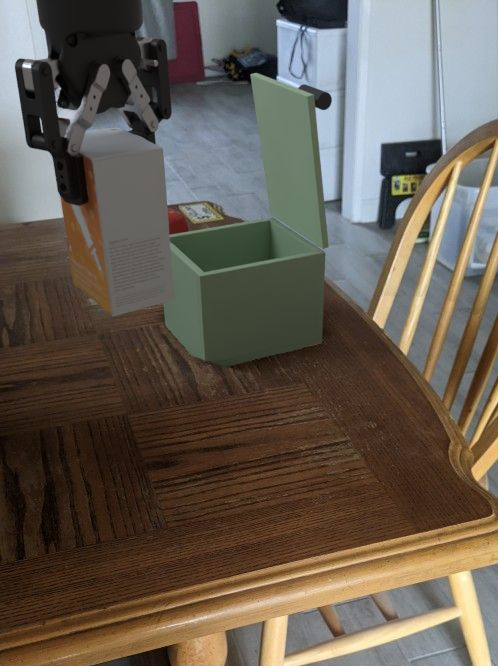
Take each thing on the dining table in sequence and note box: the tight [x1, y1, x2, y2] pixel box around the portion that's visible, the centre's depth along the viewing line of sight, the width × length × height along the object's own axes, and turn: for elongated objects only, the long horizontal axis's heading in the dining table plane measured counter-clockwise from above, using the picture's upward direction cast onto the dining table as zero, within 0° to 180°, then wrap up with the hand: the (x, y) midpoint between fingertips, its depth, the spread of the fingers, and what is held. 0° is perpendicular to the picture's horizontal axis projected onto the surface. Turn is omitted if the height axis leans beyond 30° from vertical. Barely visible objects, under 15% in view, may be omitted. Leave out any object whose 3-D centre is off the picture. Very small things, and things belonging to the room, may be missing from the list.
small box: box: [59, 127, 174, 318], centre depth 66 cm, size 8×6×13 cm
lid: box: [250, 72, 333, 250], centre depth 91 cm, size 17×14×5 cm
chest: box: [162, 216, 326, 368], centre depth 96 cm, size 16×14×12 cm
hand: (111, 190), depth 65 cm, fingers closed on small box, 7 cm apart
